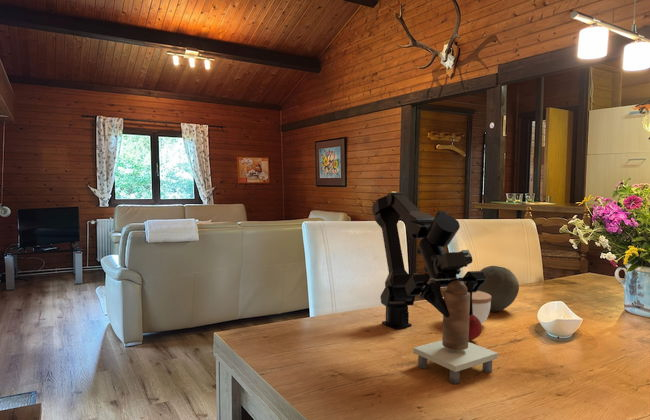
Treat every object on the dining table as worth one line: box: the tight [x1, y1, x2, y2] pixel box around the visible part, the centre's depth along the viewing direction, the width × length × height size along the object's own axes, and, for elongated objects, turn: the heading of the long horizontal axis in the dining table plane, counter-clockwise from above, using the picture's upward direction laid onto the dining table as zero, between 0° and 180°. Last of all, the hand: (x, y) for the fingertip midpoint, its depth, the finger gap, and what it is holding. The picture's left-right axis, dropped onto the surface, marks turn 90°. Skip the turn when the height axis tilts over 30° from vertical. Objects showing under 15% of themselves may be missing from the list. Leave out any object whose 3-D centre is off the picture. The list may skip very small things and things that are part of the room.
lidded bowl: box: [472, 291, 491, 325], centre depth 128 cm, size 13×13×11 cm
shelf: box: [412, 339, 499, 385], centre depth 96 cm, size 12×14×4 cm
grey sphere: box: [478, 265, 520, 312], centre depth 143 cm, size 14×14×15 cm
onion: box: [468, 314, 483, 342], centre depth 114 cm, size 6×6×8 cm
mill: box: [441, 280, 470, 350], centre depth 95 cm, size 6×6×15 cm
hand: (459, 315), depth 94 cm, fingers closed on mill, 5 cm apart
